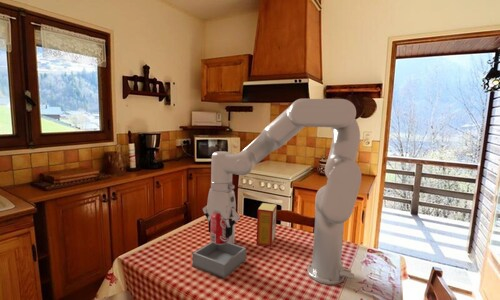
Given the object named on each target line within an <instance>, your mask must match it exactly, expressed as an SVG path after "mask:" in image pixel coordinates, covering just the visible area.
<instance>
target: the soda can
mask: <svg viewBox="0 0 500 300" xmlns="http://www.w3.org/2000/svg"><path fill="white" fill-rule="evenodd" d="M229 222H230V219H229ZM226 227H227V224H226V220H225V219H223V217H222V215H221V213H218V212H214V211H213V213H212V214H211V230H210V232H209V234H210V242H213V243H214V244H217V245H223V244H225V243H227V242H228V241H229V237H228V238H226V237H225V236H226Z"/></svg>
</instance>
